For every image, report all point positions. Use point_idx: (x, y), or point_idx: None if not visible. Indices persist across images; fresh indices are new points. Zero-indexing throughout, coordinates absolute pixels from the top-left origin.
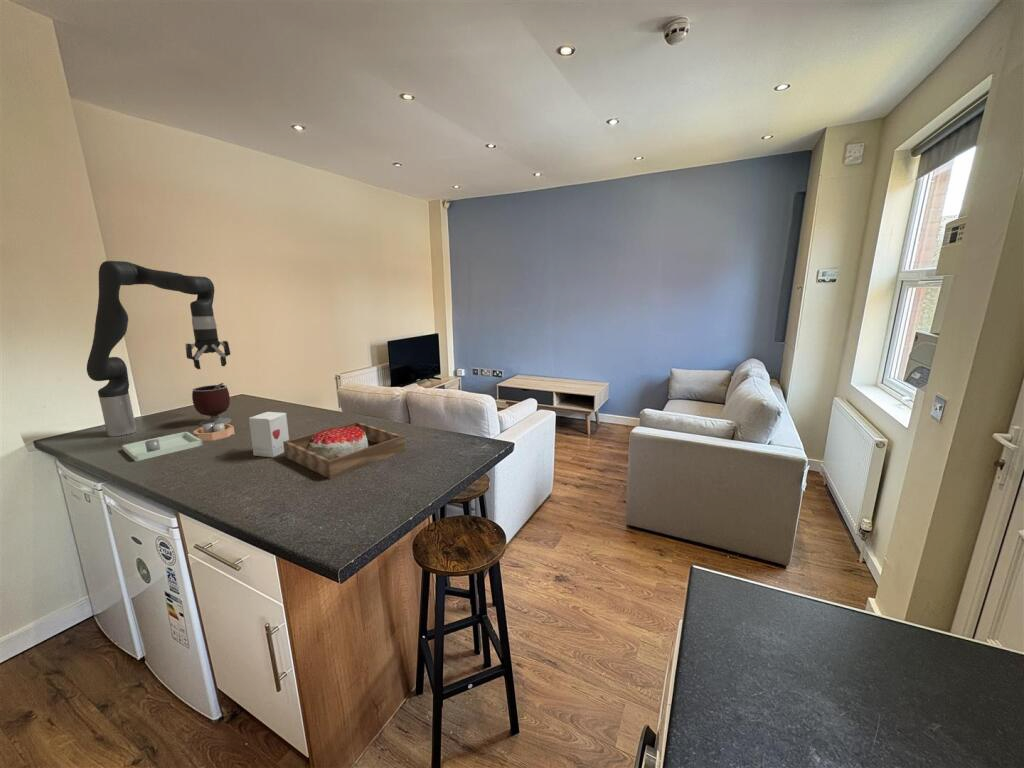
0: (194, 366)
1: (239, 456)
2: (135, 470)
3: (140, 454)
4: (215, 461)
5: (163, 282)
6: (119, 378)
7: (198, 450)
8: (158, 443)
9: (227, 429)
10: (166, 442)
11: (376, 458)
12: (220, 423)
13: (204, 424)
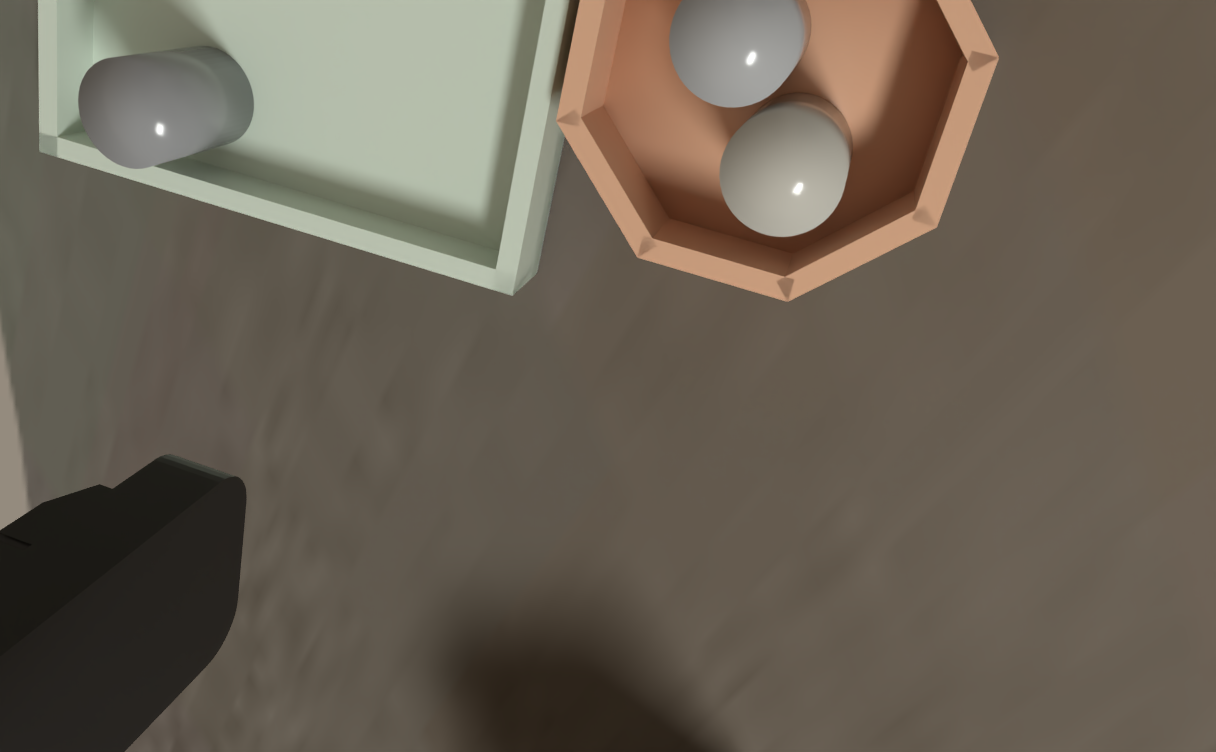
0: (41, 505)
1: (547, 724)
2: (61, 282)
3: (77, 158)
4: (414, 646)
5: None
6: None
7: (476, 307)
8: (181, 152)
9: (804, 292)
10: None
11: None
12: (813, 172)
13: (702, 2)
